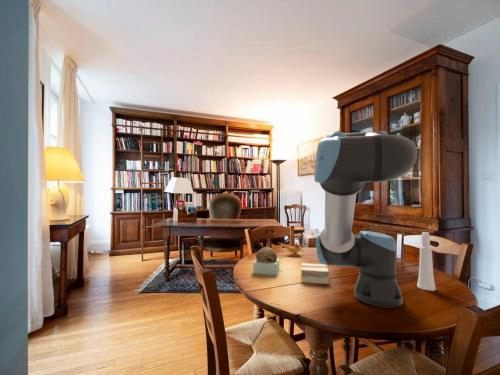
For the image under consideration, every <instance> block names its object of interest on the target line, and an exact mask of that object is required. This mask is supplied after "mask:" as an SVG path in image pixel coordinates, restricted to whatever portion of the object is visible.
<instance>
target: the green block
mask: <svg viewBox="0 0 500 375" xmlns="http://www.w3.org/2000/svg"><path fill="white" fill-rule="evenodd" d="M252 266H253V267H252V273H253V274H257V275H267V276H269V275H270V276H277V275H278V272H279V269H280V257H277V260H276V261H275V262H269V263H263V262H260V261H257V259H256V258H255V259H254V261H253V263H252Z"/></svg>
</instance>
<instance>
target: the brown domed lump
mask: <svg viewBox="0 0 500 375" xmlns="http://www.w3.org/2000/svg"><path fill="white" fill-rule="evenodd" d="M277 258H278V253H277V252H276V251H275V250H274V249H273V248H271V247H269V246H264V247H262V248H260V249H259V250H258V251H257V253H256V254H255V259H257V261H260V262H263V263H269V262H275V261H276V260H277Z"/></svg>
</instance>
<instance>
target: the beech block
mask: <svg viewBox="0 0 500 375" xmlns="http://www.w3.org/2000/svg"><path fill="white" fill-rule="evenodd" d="M301 283H309V284H320V285H321V284H323V285H330V272H329V269H328V265H324V264H321V263H309V262H301Z"/></svg>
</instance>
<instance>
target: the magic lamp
mask: <svg viewBox="0 0 500 375" xmlns="http://www.w3.org/2000/svg"><path fill="white" fill-rule="evenodd" d="M306 240H307V237H304V238H303V242H302V244H301V245H300V244H298V242H295V244H294V245H293V246H290V245H287V244H285V243H282V242H279V245H281V246H282V247H283V248H285V249H286V250H288V251H290V252H292V253H291V254H290V255H291V256H293V257H300V254H299V252H304V248H306V247H307V246H308V245H309V244H308V242H307V241H306ZM305 243H306V245H305V246H304V244H305ZM303 246H304V247H303ZM302 250H303V251H302Z"/></svg>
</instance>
